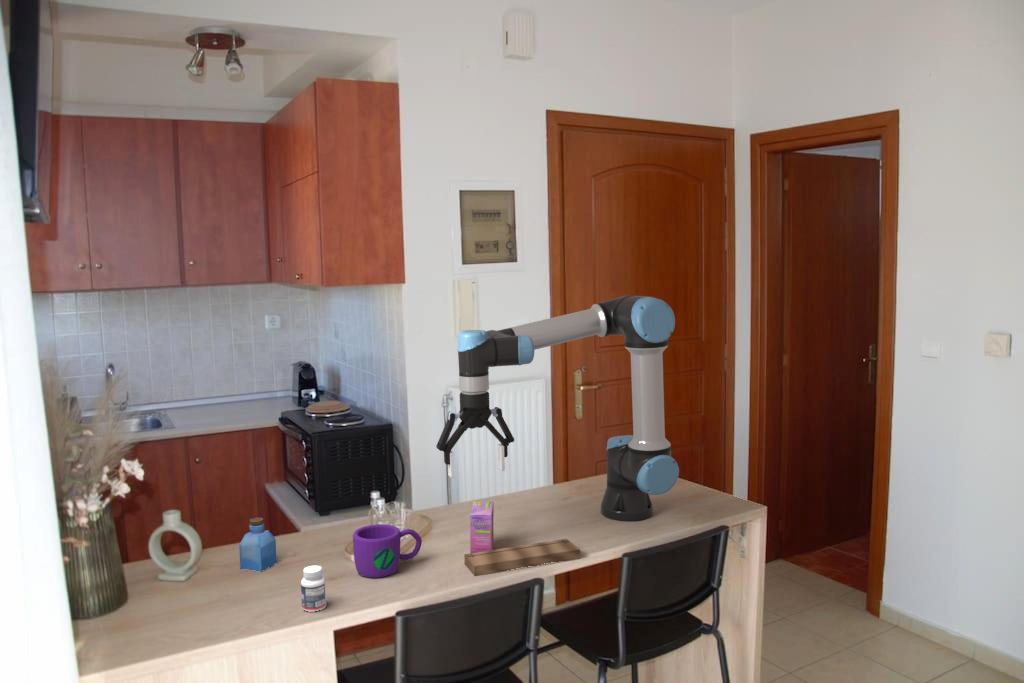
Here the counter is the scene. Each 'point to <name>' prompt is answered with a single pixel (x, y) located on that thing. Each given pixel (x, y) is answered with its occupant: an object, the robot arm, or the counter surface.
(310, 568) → the pill bottle
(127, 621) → the counter surface
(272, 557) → the perfume bottle
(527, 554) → the plank
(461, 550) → the counter surface
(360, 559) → the mug
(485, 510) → the box
